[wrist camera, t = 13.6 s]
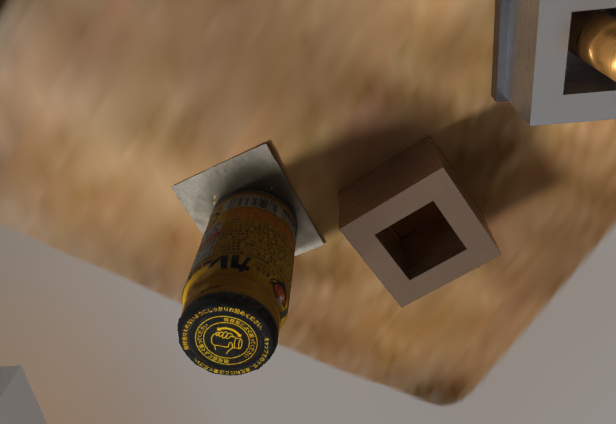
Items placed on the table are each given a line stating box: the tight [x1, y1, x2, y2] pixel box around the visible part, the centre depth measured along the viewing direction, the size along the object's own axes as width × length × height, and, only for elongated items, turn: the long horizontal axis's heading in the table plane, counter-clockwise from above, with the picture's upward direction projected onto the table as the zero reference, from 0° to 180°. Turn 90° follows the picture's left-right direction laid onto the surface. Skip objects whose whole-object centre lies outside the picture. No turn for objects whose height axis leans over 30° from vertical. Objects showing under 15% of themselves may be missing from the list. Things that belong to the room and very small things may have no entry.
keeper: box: [491, 0, 616, 102], centre depth 29 cm, size 8×8×10 cm
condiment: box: [171, 144, 324, 375], centre depth 35 cm, size 7×8×12 cm
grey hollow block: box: [504, 0, 616, 126], centre depth 30 cm, size 7×7×5 cm
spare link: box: [338, 135, 502, 307], centre depth 37 cm, size 7×7×5 cm
